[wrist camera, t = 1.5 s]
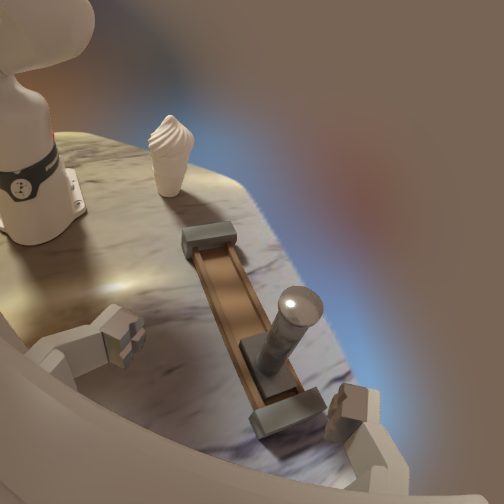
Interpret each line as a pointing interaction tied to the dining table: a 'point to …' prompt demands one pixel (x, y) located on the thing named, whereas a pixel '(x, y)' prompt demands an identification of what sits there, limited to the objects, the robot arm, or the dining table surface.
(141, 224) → the dining table surface
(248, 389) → the rail
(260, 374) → the carriage
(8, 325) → the supplement box
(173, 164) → the soft serve ice cream cone
